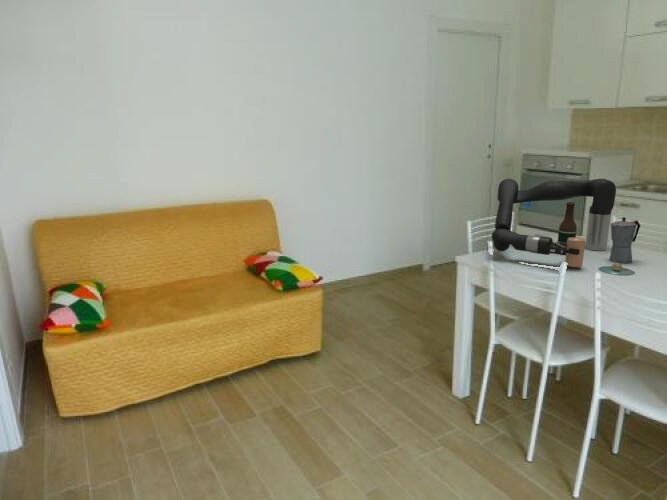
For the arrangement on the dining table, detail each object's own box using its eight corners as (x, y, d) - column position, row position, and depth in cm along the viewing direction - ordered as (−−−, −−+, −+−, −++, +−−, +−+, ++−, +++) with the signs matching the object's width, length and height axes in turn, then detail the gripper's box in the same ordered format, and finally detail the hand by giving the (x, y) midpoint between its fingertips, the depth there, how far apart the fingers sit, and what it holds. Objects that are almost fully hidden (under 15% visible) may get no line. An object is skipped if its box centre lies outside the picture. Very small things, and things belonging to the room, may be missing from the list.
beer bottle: (570, 251, 232) (576, 201, 226) (576, 256, 224) (583, 204, 218) (553, 251, 233) (558, 201, 226) (559, 255, 225) (564, 203, 219)
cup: (564, 262, 208) (566, 236, 205) (580, 263, 206) (583, 237, 203) (566, 266, 202) (568, 240, 199) (583, 267, 200) (586, 241, 197)
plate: (595, 266, 208) (595, 265, 207) (630, 269, 204) (630, 267, 203) (601, 276, 196) (601, 274, 195) (638, 278, 192) (638, 276, 192)
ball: (610, 269, 202) (611, 261, 201) (620, 269, 200) (621, 261, 200) (612, 271, 198) (613, 263, 198) (622, 272, 197) (623, 264, 197)
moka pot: (597, 261, 216) (603, 216, 210) (623, 257, 221) (629, 213, 216) (616, 267, 207) (623, 220, 202) (643, 263, 212) (650, 217, 207)
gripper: (543, 249, 217) (584, 255, 207) (533, 257, 206) (576, 263, 196) (544, 233, 215) (586, 238, 205) (534, 239, 204) (578, 245, 194)
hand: (581, 250), depth 201 cm, fingers closed on cup, 6 cm apart
